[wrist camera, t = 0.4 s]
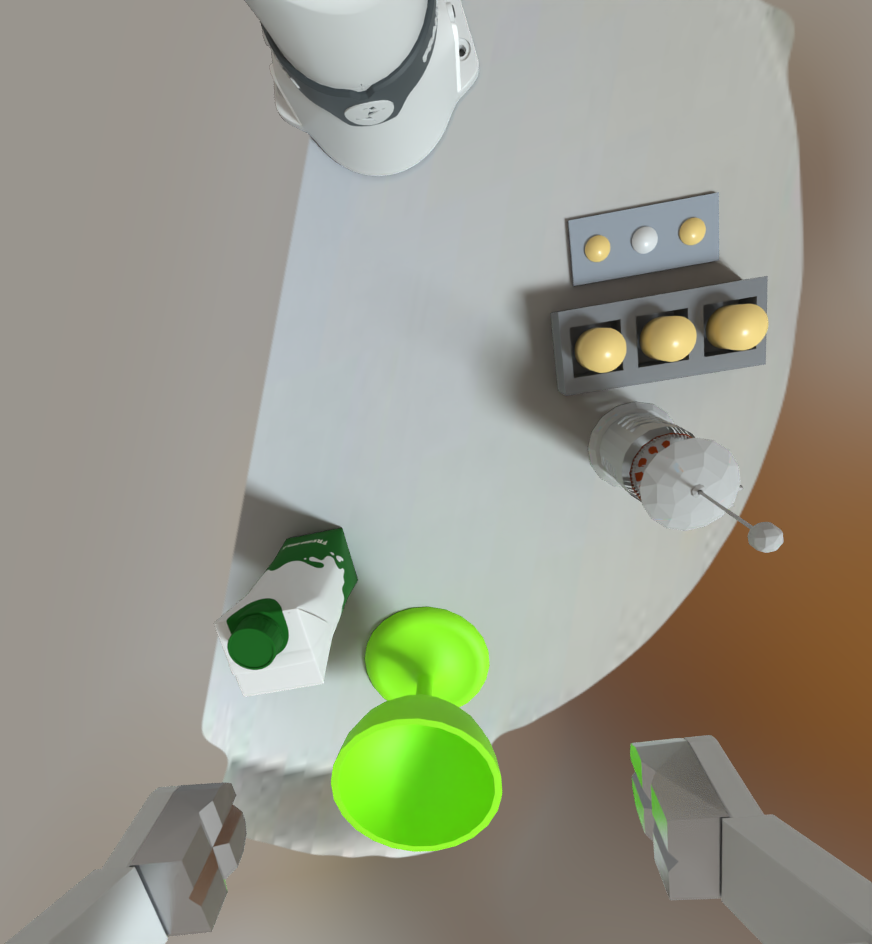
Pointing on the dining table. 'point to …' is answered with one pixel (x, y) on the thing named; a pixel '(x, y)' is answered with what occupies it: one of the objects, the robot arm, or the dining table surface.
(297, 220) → the dining table surface
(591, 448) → the french press
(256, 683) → the milk carton
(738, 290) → the button board
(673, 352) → the middle button
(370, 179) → the dining table surface
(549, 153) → the dining table surface
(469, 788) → the wineglass
